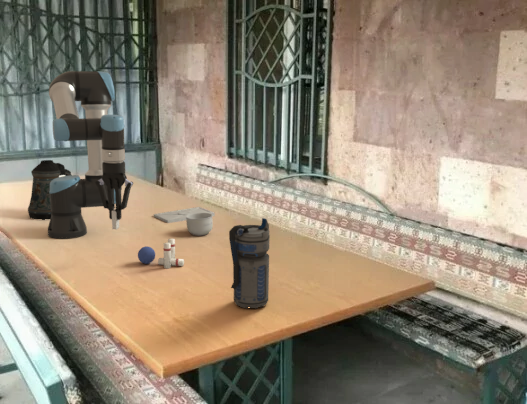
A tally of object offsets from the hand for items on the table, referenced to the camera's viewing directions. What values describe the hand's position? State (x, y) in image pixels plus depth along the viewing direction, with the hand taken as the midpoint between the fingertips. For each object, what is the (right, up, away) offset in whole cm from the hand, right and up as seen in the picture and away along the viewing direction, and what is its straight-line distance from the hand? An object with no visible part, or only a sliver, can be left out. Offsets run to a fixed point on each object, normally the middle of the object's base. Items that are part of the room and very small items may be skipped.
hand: (115, 228), depth 213 cm
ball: (+11, -9, 0) cm, 14 cm away
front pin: (+15, -11, 0) cm, 19 cm away
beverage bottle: (+47, -21, -34) cm, 62 cm away
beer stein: (-46, +3, +66) cm, 80 cm away
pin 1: (+18, -13, -3) cm, 23 cm away
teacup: (+25, -4, +41) cm, 48 cm away
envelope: (+15, +2, +68) cm, 70 cm away
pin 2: (+19, -12, +2) cm, 23 cm away
